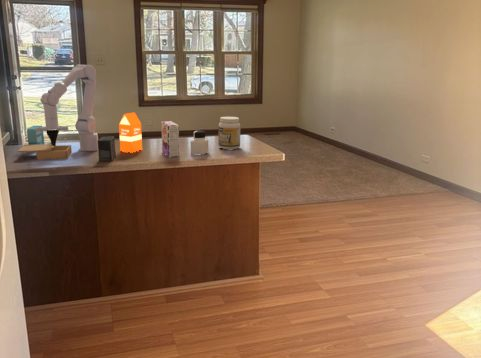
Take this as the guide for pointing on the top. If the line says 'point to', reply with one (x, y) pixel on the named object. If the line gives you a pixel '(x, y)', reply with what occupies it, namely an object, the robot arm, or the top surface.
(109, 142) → the small box
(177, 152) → the candy box
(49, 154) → the mailer box
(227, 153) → the top surface
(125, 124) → the orange juice
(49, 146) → the mailer lid
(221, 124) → the supplement tub
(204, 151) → the medicine bottle
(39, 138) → the data package
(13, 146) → the top surface
